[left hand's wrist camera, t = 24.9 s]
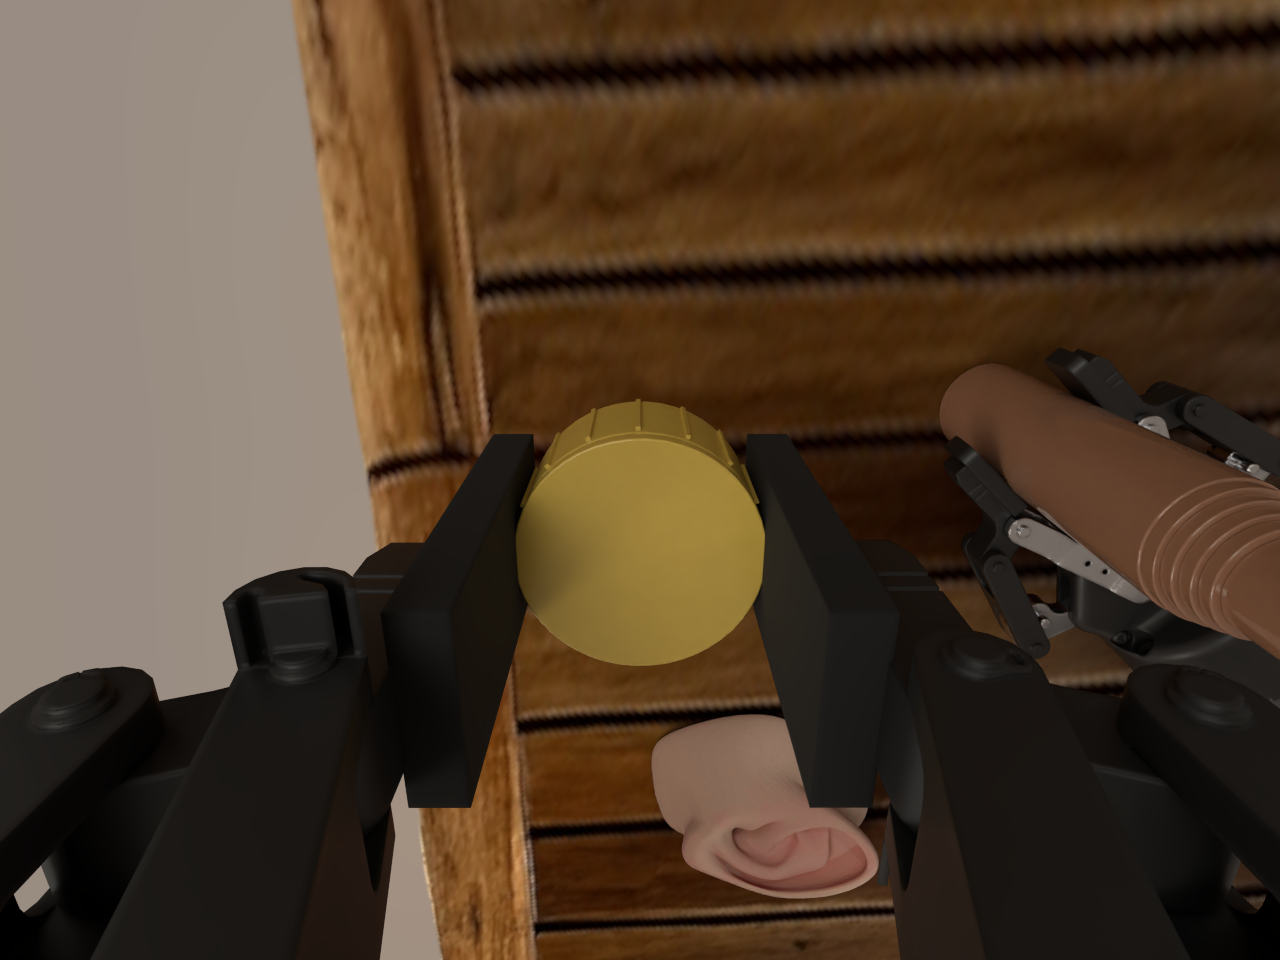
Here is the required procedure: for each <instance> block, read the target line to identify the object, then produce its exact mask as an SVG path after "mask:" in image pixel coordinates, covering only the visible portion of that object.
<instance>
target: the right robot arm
mask: <svg viewBox="0 0 1280 960" xmlns="http://www.w3.org/2000/svg"><path fill="white" fill-rule="evenodd" d="M1044 361H1045V363H1046V364H1047V366H1048V367H1049V368H1050V369H1051V370H1052V372H1053V373H1054V374H1055V375H1056V376H1057V377H1058V378H1059V380H1060V381H1061V382H1062V383H1063V384H1064V385H1065V387H1066V388H1067V389H1068V390H1069V391H1070V392H1071V394H1072V395H1074V396H1076V397H1079V398H1081V399H1083V400H1085V401H1088V402H1090V403H1092V404H1094V405H1096V406H1099V407H1101V408H1103V409H1105V410H1108V411H1110V412H1112V413H1114V414H1116V415H1119V416H1121V417H1123V418H1125V419H1127V420H1130V421H1132V422H1134V423H1136V424H1139V425H1141V426H1143V427H1145V428H1147V429H1150V430H1152V431H1154V432H1156V433H1159V434H1161V435H1163V436H1165V437H1167V438H1170V437H1169V433H1168V430H1170V429H1173V428H1175V427H1177V426H1182V427H1183V428H1185V429H1187V430H1188V431H1190V432H1192V433H1193V434H1195V435H1197V436H1198V437H1200V438H1202V439H1203V440H1205V441H1207V442H1208V443H1210V444H1212V445H1213V446H1210V447H1209V448H1208V449H1207V455H1209V456H1210V457H1212V458H1214V459H1216V460H1218V461H1221V462H1223V463H1225V464H1227V465H1229V466H1232V467H1234V468H1236V469H1238V470H1241V471H1243V472H1245V473H1247V474H1249V475H1252V476H1254V477H1256V478H1258V479H1261V480H1263V481H1264V480H1265V479H1266V478H1267V477H1268V476H1269V475H1270V474H1273V475H1275V476H1277V477H1280V440H1279V439H1277V438H1276V437H1274V436H1272V435H1271V434H1269V433H1268V432H1266V431H1264V430H1263V429H1261V428H1259V427H1258V426H1256V425H1255V424H1253V423H1251V422H1250V421H1248V420H1246V419H1245V418H1243V417H1242V416H1240V415H1238V414H1237V413H1235V412H1233V411H1232V410H1230V409H1229V408H1227V407H1225V406H1224V405H1222V404H1220V403H1219V402H1217V401H1216V400H1214V399H1212V398H1211V397H1209V396H1206V395H1203V394H1200V393H1197V392H1194V391H1192V390H1189V389H1186V388H1183V387H1180V386H1177V385H1174V384H1171V383H1168V382H1164V381H1162V382H1157V383H1155V384H1153V385H1152V386H1151V387H1150V388H1149V389H1148V390H1147V392H1146V394H1143V395H1141V396H1138V395H1137V393H1136V392H1135V391H1134V390H1133V389H1132V387H1131V386H1130V385H1129V384H1128V383H1127V381H1126V380H1125V379H1124V378H1123V377H1122V375H1121V374H1120V373H1119V372H1118V371H1117V369H1116V368H1115V367H1114V366H1113V364H1112V363H1111V362H1110V361H1109V360H1107V359H1104V358H1102V357H1100V356H1097V355H1094V354H1091V353H1088V352H1086V351H1083V350H1080V349H1077V350H1076V351H1075V352H1074V353H1073V352H1070V351H1067V350H1064V349H1062V348H1058V349H1057V350H1056V351H1054V352H1053V353H1052V354H1051V355H1050V356H1049V357H1047V358H1046V359H1045V360H1044ZM944 447H945V449H946V450H947V451H948V452H949V453H950V454H951V455H952V456H951V457H950V458H949V459H948V460H947V461H945V462H944V466H945V469H946V472H947V474H948V475H949V476H950V477H951V478H952V479H953V481H954V482H955V483H956V484H957V485H958V486H959V487H960V488H961V489H962V490H963V491H964V492H965V493H966V494H967V495H968V496H969V497H970V498H971V499H972V500H973V501H974V502H975V503H976V504H977V505H978V506H979V508H980V509H981V510H982V513H983V520H982V523H981V525H980V526H979V528H978V529H977V531H974V532H970V533H968V534H967V535H966V536H965V537H964V538H963V540H962V543H961V547H962V550H963V552H964V554H965V556H966V558H967V560H968V562H969V564H970V566H971V568H972V570H973V572H974V574H975V576H976V578H977V580H978V582H979V584H980V586H981V588H982V590H983V592H984V594H985V596H986V598H987V600H988V602H989V604H990V606H991V608H992V610H993V612H994V614H995V616H996V618H997V620H998V622H999V624H1000V626H1001V627H1002V629H1003V630H1004V631H1005V632H1006V633H1007V635H1008V636H1009V637H1010V638H1011V640H1012V641H1013V642H1014V643H1015V644H1016V646H1017V647H1019V648H1020V649H1022V650H1024V651H1025V652H1027V653H1028V654H1030V655H1031V656H1032V657H1033V659H1038V658H1041V657H1043V656H1045V655H1046V654H1047V653H1048V651H1049V649H1050V643H1049V640H1048V639H1049V638H1051V637H1053V636H1056V635H1058V634H1060V633H1062V632H1064V631H1067V630H1069V629H1071V628H1073V627H1075V626H1076V627H1077V628H1079V629H1080V630H1082V631H1085V632H1089V633H1094V634H1097V635H1099V636H1100V637H1101V638H1102V639H1103V640H1104V641H1105V642H1106V643H1107V644H1108V645H1109V646H1110V647H1111V648H1112V649H1113V650H1114V651H1115V652H1116V653H1117V654H1118V655H1119V656H1120V658H1121V659H1122V660H1123V661H1124V662H1125V663H1126V664H1127V665H1128V666H1129V667H1130V668H1131V669H1132V670H1133V671H1134V670H1136V669H1137V668H1138V667H1139V666H1145V665H1151V664H1157V663H1163V664H1174V665H1189V666H1194V667H1199V669H1201V670H1202V669H1207V670H1210V671H1214V672H1217V673H1219V674H1221V675H1223V676H1224V677H1226V678H1228V679H1230V680H1233V681H1235V682H1238V683H1240V684H1242V685H1245V686H1246V687H1248V688H1250V689H1251V690H1253V691H1255V692H1256V693H1258V694H1259V695H1261V696H1263V697H1264V698H1266V699H1268V700H1269V701H1271V702H1272V703H1273V704H1275V705H1276V706H1277V707H1278V708H1280V661H1279V660H1278V659H1277V658H1275V657H1274V656H1272V655H1271V654H1270V653H1268V652H1267V651H1265V650H1264V649H1263V648H1261V647H1260V646H1259V645H1257V644H1256V643H1254V642H1253V641H1247V640H1243V639H1239V638H1236V637H1233V636H1231V635H1229V634H1226V633H1222V632H1219V631H1216V630H1214V629H1212V628H1209V627H1205V626H1202V625H1199V624H1197V623H1194V622H1191V621H1187V620H1184V619H1182V618H1180V617H1178V616H1176V615H1174V614H1173V613H1171V612H1170V611H1168V610H1165V609H1163V608H1161V607H1160V606H1158V605H1156V604H1155V603H1154V602H1153V601H1151V600H1150V599H1149V598H1147V597H1146V596H1145V595H1144V594H1142V593H1141V592H1140V591H1139V590H1137V589H1136V588H1135V587H1134V586H1132V585H1131V584H1130V583H1128V582H1127V581H1126V580H1125V579H1123V578H1122V577H1121V576H1120V575H1118V574H1117V573H1116V572H1114V571H1113V570H1112V569H1111V568H1109V567H1108V566H1107V565H1106V564H1104V563H1103V562H1102V561H1101V560H1099V559H1098V558H1097V557H1095V556H1094V555H1093V554H1092V553H1090V552H1089V551H1088V550H1087V549H1085V548H1084V547H1083V546H1081V545H1080V544H1079V543H1078V542H1076V541H1075V540H1074V539H1073V538H1071V537H1070V536H1069V535H1068V534H1066V533H1065V532H1064V531H1062V530H1061V529H1060V528H1059V527H1057V526H1056V525H1055V524H1054V523H1052V522H1051V521H1050V520H1048V519H1047V518H1046V517H1045V516H1043V515H1042V514H1041V513H1040V512H1037V511H1036V512H1034V511H1032V510H1030V509H1028V508H1027V507H1029V506H1028V505H1027V504H1026V503H1025V502H1024V501H1023V500H1022V499H1021V498H1020V497H1019V496H1018V495H1017V494H1016V493H1015V492H1014V491H1013V490H1012V488H1011V487H1010V486H1009V485H1008V484H1007V483H1006V482H1005V481H1004V480H1003V479H1002V478H1001V477H1000V475H999V474H998V473H997V472H996V471H995V470H994V469H993V468H992V467H991V466H990V465H989V464H988V463H987V462H986V461H985V459H984V458H983V457H982V456H981V455H980V454H979V453H978V452H977V451H976V450H975V449H974V448H972V447H971V446H970V445H969V444H968V443H966V442H965V441H964V440H962V439H961V438H960V437H958V436H957V435H956V436H955V437H954V438H953V439H951V440H950V441H949V442H948V443H947V444H946V445H944ZM1019 546H1023V547H1025V548H1027V549H1029V550H1031V551H1033V552H1036V553H1038V554H1040V555H1042V556H1044V557H1046V558H1048V559H1049V560H1051V561H1052V562H1054V563H1055V564H1057V585H1056V603H1052V604H1048V603H1044V602H1043V601H1042V600H1041V599H1040V598H1039V597H1038V596H1037V595H1035V594H1026V592H1025V589H1024V587H1023V585H1022V583H1021V581H1020V579H1019V577H1018V575H1017V572H1016V570H1015V568H1014V566H1013V564H1012V562H1011V560H1010V559H1011V558H1012V556H1013V555H1014V553H1015V552H1016V550H1017V549H1018V548H1019Z"/></svg>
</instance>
